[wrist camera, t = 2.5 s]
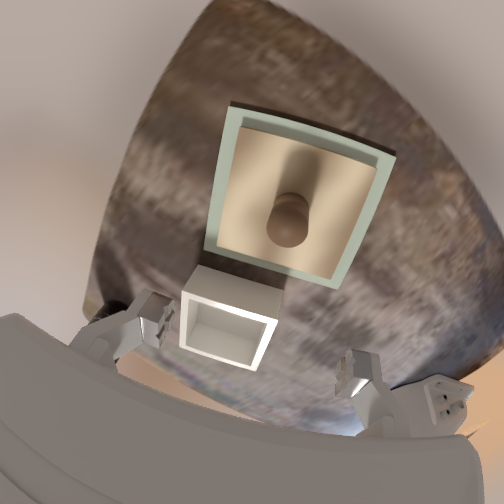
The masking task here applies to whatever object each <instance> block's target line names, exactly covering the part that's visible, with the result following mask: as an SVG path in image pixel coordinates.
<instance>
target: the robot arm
mask: <svg viewBox="0 0 504 504" xmlns="http://www.w3.org/2000/svg"><path fill="white" fill-rule="evenodd" d="M174 305H175V302H174V299H171V298H169V297H166V296H163V295H161V294H158V293H156V292H153V291H150V290H148V289H145V288H144V289H143V290H141V291H140V293H139V294H138V296H137V297H136V298H135V300H134V301H133V302H132V304H131V305H130V307H129V308H128V309H127V311H124V310H123V311H121V312H118V313H116V314H113V315H111V316H108V317H106V318H104V319H101V320H99V321H96V322H94V323H92V324H89V325H87V326H84V327H82V328H81V330H80V331H79V332H78V334H77V335H76V336H75V338H74V339H73V341H72V342H71V343H70V345H69V346H67V345H65V344H64V343H62V342H60V341H59V340H57V339H56V338H54V337H53V336H51V335H49V334H48V333H46V332H45V331H43V330H42V329H40V328H39V327H37V326H36V325H35V324H33V323H32V322H30V321H29V320H27V319H26V318H25V317H23V316H22V315H20V314H18V313H13V314H8V315H5V316H2V317H0V504H484V485H483V475H482V467H481V462H480V458H479V455H478V452H477V451H476V450H475V448H474V447H473V445H472V444H471V443H470V442H469V440H468V439H467V438H466V437H465V436H464V435H462V434H456V435H454V434H455V432H456V431H457V430H458V428H459V427H460V426H461V425H462V423H463V422H464V420H465V419H466V416H467V406H466V401H467V400H468V399H469V398H470V397H471V395H472V394H473V392H474V386H472V385H469V384H466V383H463V382H460V381H457V380H454V379H451V378H449V377H446V376H443V375H440V374H436V375H433V376H431V377H429V378H426V379H424V380H422V381H420V382H417V383H413V384H409V385H405V386H402V387H399V388H397V389H394V390H392V391H391V390H390V389H389V387H388V386H387V385H386V383H384V382H383V381H382V373H381V365H380V358H379V355H378V354H375V353H369V352H365V351H360V350H354V349H349V350H347V352H346V353H345V357H344V358H341V359H340V361H339V362H338V364H337V367H336V372H335V377H336V379H337V380H338V382H337V383H336V384H335V396H336V397H341V398H347V399H351V402H352V404H353V406H354V408H355V410H356V412H357V414H358V416H359V418H360V420H361V422H362V425H363V427H364V429H365V430H363V431H362V432H360V433H359V434H357V435H356V437H355V436H343V435H333V434H325V433H317V432H310V431H303V430H297V429H291V428H286V427H280V426H275V425H270V424H266V423H261V422H257V421H253V420H248V419H245V418H241V417H236V416H233V415H229V414H226V413H222V412H219V411H215V410H212V409H209V408H206V407H203V406H199V405H196V404H193V403H191V402H188V401H185V400H182V399H179V398H176V397H173V396H171V395H168V394H166V393H163V392H161V391H158V390H156V389H153V388H151V387H148V386H146V385H143V384H141V383H139V382H137V381H134V380H132V379H130V378H128V377H126V376H124V375H121V374H119V373H118V370H117V367H116V364H115V361H114V360H116V359H117V358H119V357H120V356H122V355H124V354H126V353H127V352H129V351H131V350H132V349H134V348H135V347H137V346H139V345H140V344H142V343H143V342H144V343H146V344H149V345H152V346H154V347H157V348H160V346H161V344H162V343H163V341H164V339H165V332H167V331H169V330H170V328H171V326H172V323H173V320H174V311H173V307H174Z"/></svg>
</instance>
